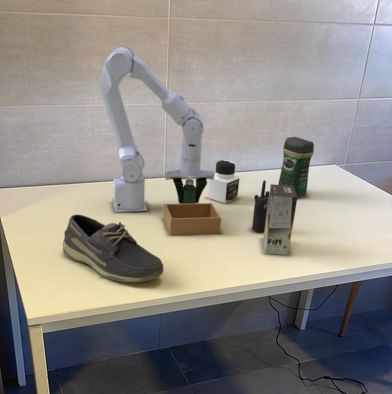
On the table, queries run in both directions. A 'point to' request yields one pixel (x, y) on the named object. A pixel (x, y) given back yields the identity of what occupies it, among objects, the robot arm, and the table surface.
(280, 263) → the table surface
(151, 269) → the boat shoe
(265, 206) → the two-way radio
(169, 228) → the box
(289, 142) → the coffee jar
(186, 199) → the bottle
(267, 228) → the coffee box
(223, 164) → the medicine bottle
